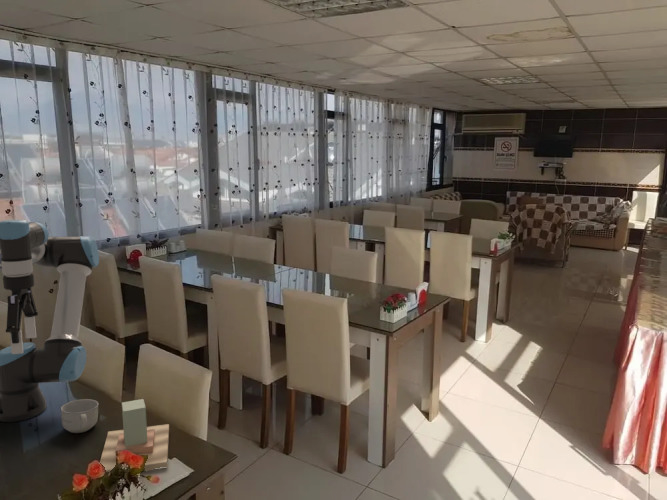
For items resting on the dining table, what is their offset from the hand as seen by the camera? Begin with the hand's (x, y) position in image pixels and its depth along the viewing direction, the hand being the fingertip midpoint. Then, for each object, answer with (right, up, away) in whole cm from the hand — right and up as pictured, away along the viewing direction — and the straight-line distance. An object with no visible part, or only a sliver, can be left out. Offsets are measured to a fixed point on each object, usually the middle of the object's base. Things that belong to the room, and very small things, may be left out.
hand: (24, 345), depth 150 cm
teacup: (+10, -30, +14) cm, 35 cm away
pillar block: (+32, -28, +1) cm, 43 cm away
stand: (+32, -32, +2) cm, 45 cm away
